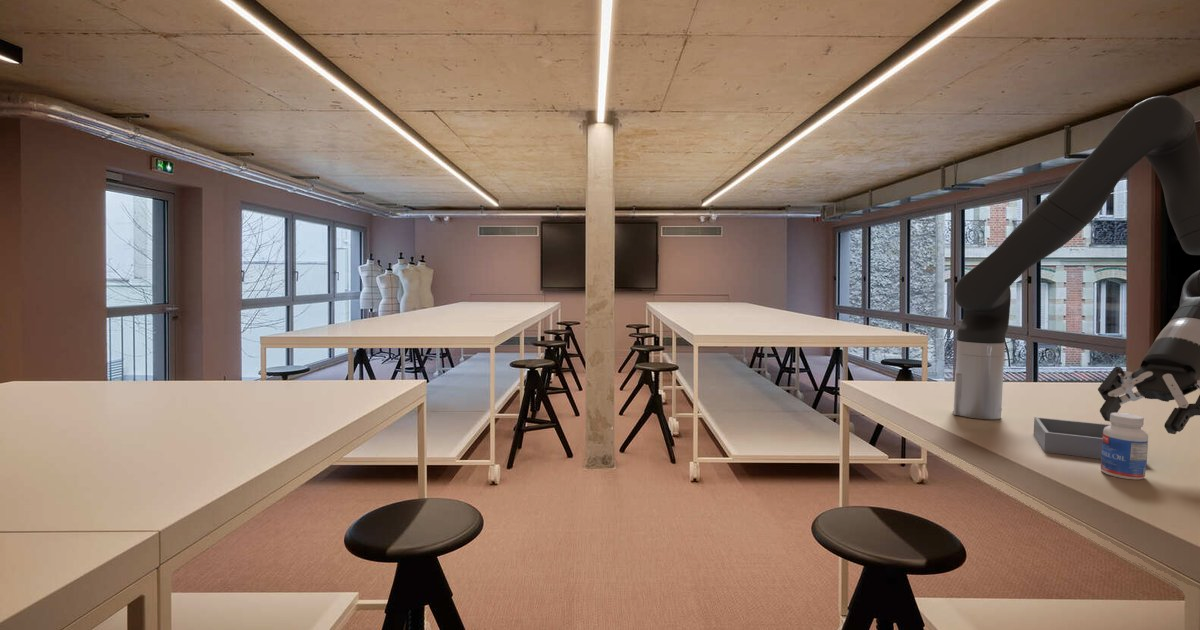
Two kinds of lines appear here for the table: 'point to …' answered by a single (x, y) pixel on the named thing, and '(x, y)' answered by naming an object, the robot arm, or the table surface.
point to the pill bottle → (1124, 447)
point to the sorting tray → (1070, 437)
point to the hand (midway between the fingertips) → (1136, 424)
